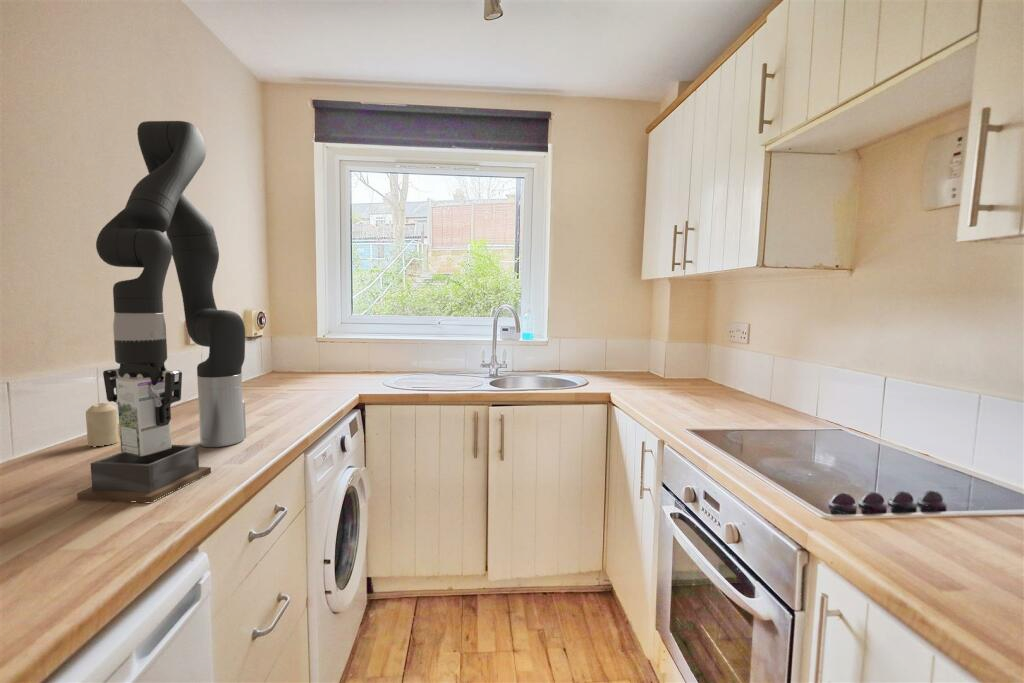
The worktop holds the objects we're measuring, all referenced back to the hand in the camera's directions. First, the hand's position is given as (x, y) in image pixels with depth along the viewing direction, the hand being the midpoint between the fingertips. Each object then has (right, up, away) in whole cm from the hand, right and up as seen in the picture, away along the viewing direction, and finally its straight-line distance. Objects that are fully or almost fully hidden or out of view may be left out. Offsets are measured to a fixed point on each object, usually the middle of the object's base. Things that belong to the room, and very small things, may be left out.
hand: (145, 424), depth 84 cm
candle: (-30, -10, +24) cm, 40 cm away
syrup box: (0, -5, 0) cm, 5 cm away
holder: (0, -12, +1) cm, 12 cm away
